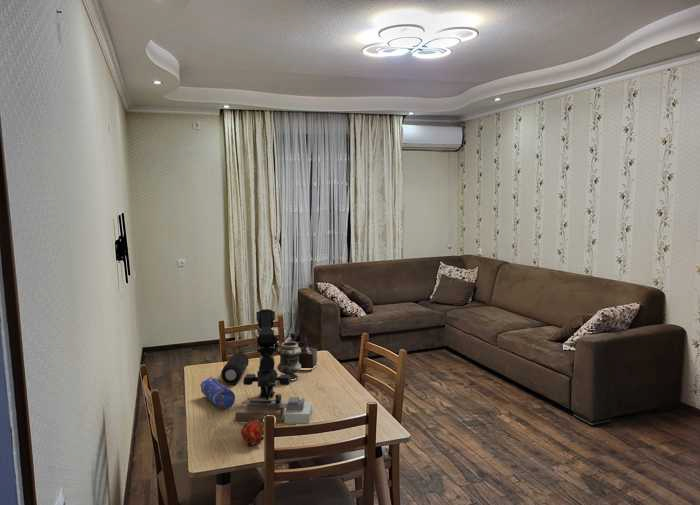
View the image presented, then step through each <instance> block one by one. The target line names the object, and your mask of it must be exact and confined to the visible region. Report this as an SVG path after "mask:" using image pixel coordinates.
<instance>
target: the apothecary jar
mask: <svg viewBox="0 0 700 505" xmlns="http://www.w3.org/2000/svg"><path fill="white" fill-rule="evenodd" d="M296 342H297V341H295V342H293V341H284V342H282V343H281V344H280V347H278V349H277V354H278V355H279V357H280V358H279V359H280V360H279V363H278V365H277V370H278V372H280V373H281V374H289V375H290V380H291V379H295V378H297V377H298V376H299V375H298V374H297V373H298V372H300V371H301V370H300V369H301V364H300V363H299V354H300V353H301V349H300V348H301V347H299V343H296ZM297 375H298V376H297Z"/></svg>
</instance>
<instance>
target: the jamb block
mask: <svg viewBox="0 0 700 505" xmlns="http://www.w3.org/2000/svg"><path fill="white" fill-rule="evenodd" d="M287 401H288V404H287V408H285V410H284V413H283V416H284V424H307V423H309V424H310V422H311V418H312V415H313V414H312V413H313V402H310V401H309V402H306V401H305V398H304V397H302V398H301V399H300V397H299V396H289V399H288V400H287ZM299 401H300V404H298V402H299ZM311 414H312V415H311Z"/></svg>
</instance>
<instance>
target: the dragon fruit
mask: <svg viewBox="0 0 700 505" xmlns="http://www.w3.org/2000/svg"><path fill="white" fill-rule="evenodd" d="M264 424H265V423H261V422H259V421H258V420H254V421H249V423H245V424H244V425H243V426H242V429H241V432H240V436H241V437H242V439H243V441H244V442H245V443H246V446H248V447H250V446H253V445H256V444H257V443H258V442H259V443H260V442H261V441H264V439H265V438H264V437H265V436H264V435H265V434H264V432H265V430H264V427H265V425H264Z"/></svg>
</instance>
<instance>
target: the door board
mask: <svg viewBox="0 0 700 505" xmlns="http://www.w3.org/2000/svg"><path fill="white" fill-rule="evenodd" d="M272 401H275V399H268V400H266V399H249V401H241V404H240V405H239V406H238V408H237V410H236V411H235V413H234V414H235V419H234V420H235V423H236V422H249V421H254V420H258V421H259V422H261V423H262V422H263V419H264V416H267V415H274V416H275V417H276V423H275V424H280V423H281V421H282V418H283V416H284V414H285V408H279V404H271V402H272ZM262 424H263V423H262Z"/></svg>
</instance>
